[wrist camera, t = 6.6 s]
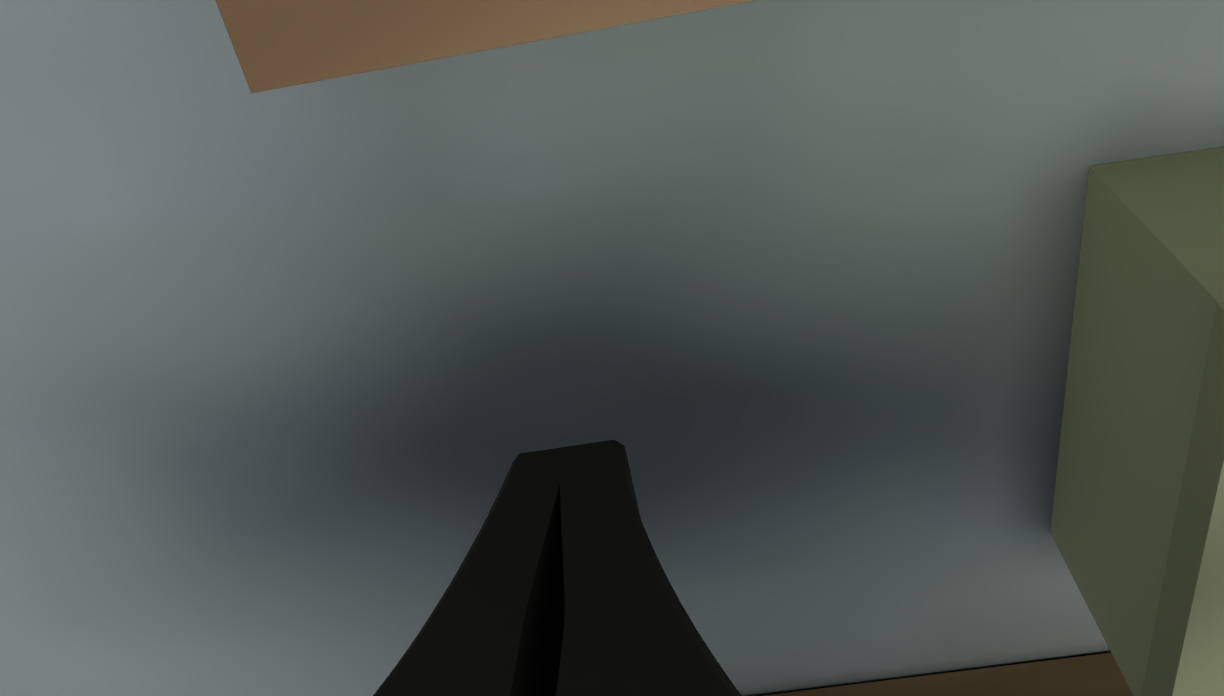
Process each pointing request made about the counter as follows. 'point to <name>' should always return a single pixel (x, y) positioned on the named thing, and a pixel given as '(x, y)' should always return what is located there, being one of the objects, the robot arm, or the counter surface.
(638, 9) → the bay
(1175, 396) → the box
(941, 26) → the counter surface
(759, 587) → the counter surface
